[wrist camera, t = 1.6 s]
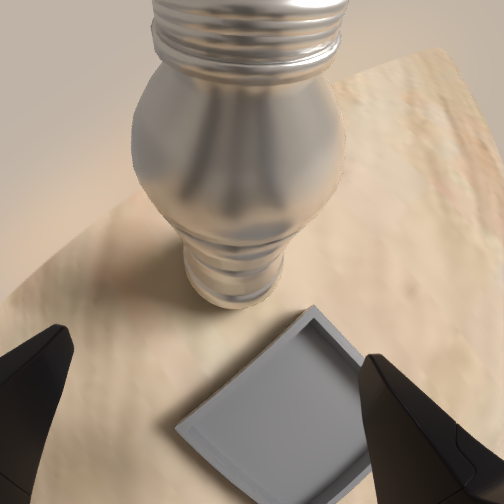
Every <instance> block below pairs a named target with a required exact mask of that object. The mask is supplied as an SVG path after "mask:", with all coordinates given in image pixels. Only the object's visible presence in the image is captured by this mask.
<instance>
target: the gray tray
mask: <svg viewBox="0 0 504 504" xmlns="http://www.w3.org/2000/svg"><path fill="white" fill-rule="evenodd" d="M364 360H365V358H364V357H363V356H362V355H361V354H360V353H359V352H358V351H357V350H356V349H355V348H354V347H353V345H352V344H351V343H350V342H349V341H348V340H347V339H346V338H345V337H344V336H343V335H342V334H341V333H340V332H339V331H338V330H337V328H336V327H335V326H334V325H333V324H332V323H331V322H330V321H329V320H328V319H327V318H326V317H325V316H324V315H323V314H322V313H321V312H320V310H319V309H318V308H317V307H316V306H315V305H312V306H311V307H309V308H307V309H305V310H304V311H303V312H302V313H301V314H300V315H299V316H298V317H297V318H296V319H295V320H294V321H293V322H292V323H291V324H290V325H289V326H288V327H287V328H286V329H285V330H284V331H283V332H282V333H280V334H279V335H278V336H277V337H276V338H275V339H274V340H273V341H272V342H271V343H270V344H269V345H268V346H267V347H265V348H264V349H263V350H262V351H261V352H260V353H259V354H258V355H257V356H256V357H254V358H253V359H252V360H251V361H250V362H249V363H248V364H247V365H246V366H244V367H243V368H242V369H241V370H240V371H239V372H238V373H236V374H235V375H234V376H233V377H232V378H231V379H230V380H228V381H227V382H226V383H225V384H224V385H223V386H221V387H220V388H219V389H218V390H217V391H215V392H214V393H213V394H212V395H211V396H210V397H208V398H207V399H206V400H205V401H203V402H202V403H201V404H200V405H199V406H197V407H196V408H195V409H194V410H192V411H191V412H190V413H189V414H187V415H186V416H185V417H184V418H182V419H181V420H180V421H179V422H178V424H177V425H176V426H175V428H174V429H175V430H176V431H177V432H178V433H179V434H180V435H181V436H182V437H183V438H184V439H185V440H186V441H187V442H188V443H189V444H190V445H191V446H192V447H193V448H194V449H195V450H196V451H197V452H198V453H199V454H200V455H201V456H202V457H203V458H204V459H205V460H207V461H208V462H209V463H210V464H211V465H212V466H213V467H214V468H215V469H217V470H218V471H219V472H220V473H221V474H222V475H223V476H225V477H226V478H227V479H228V480H229V481H231V482H232V483H233V484H234V485H235V486H237V487H238V488H239V489H240V490H242V491H243V492H244V493H245V494H247V495H248V496H249V497H250V498H252V499H253V500H254V501H256V502H257V503H258V504H336V503H337V502H338V501H340V500H341V499H342V498H343V497H344V496H345V495H346V494H348V493H349V492H350V491H351V490H352V489H353V488H354V487H355V486H356V485H358V484H359V483H360V482H361V481H362V480H363V479H364V478H365V477H366V476H367V475H368V474H369V473H370V472H371V471H372V467H371V462H370V457H369V451H368V446H367V441H366V437H365V432H364V427H363V422H362V413H361V403H360V394H359V385H358V373H359V370H360V368H361V366H362V364H363V362H364Z"/></svg>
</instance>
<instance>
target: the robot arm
mask: <svg viewBox="0 0 504 504" xmlns="http://www.w3.org/2000/svg"><path fill="white" fill-rule="evenodd" d="M73 353H74V345H73V342H72V339H71V336H70V333H69V330H68V328H67V327H66V326H64V325H59V324H54V325H52V326H50V327H49V328H47V329H45V330H44V331H42V332H40V333H39V334H37V335H36V336H34V337H32V338H31V339H29V340H27V341H26V342H24V343H22V344H21V345H19V346H18V347H16V348H14V349H13V350H11V351H10V352H8V353H6V354H5V355H3V356H2V357H0V504H30V500H31V494H32V490H33V486H34V482H35V478H36V474H37V470H38V466H39V463H40V459H41V455H42V452H43V449H44V445H45V442H46V439H47V436H48V432H49V429H50V426H51V423H52V420H53V417H54V415H55V412H56V409H57V406H58V403H59V401H60V398H61V395H62V392H63V389H64V385H65V381H66V378H67V374H68V370H69V367H70V363H71V360H72V356H73ZM358 385H359V394H360V403H361V413H362V422H363V427H364V432H365V437H366V441H367V446H368V451H369V457H370V462H371V467H372V473H373V478H374V484H375V490H376V496H377V502H378V504H504V460H502V459H501V458H500V457H498V456H497V455H496V454H494V453H493V452H491V451H490V450H489V449H487V448H486V447H485V446H484V445H482V444H481V443H480V442H478V441H477V440H476V439H475V438H474V437H472V436H471V435H470V434H469V433H468V432H467V431H466V430H464V429H463V428H462V427H461V426H460V425H459V424H456V421H455V420H453V419H452V418H451V417H450V416H449V415H448V414H447V413H446V412H445V411H444V410H442V409H441V408H440V407H439V406H438V405H437V404H436V403H435V402H434V401H433V400H431V399H430V398H429V397H428V396H427V395H426V394H425V393H424V392H423V391H422V390H420V389H419V388H418V387H417V386H416V385H415V384H414V383H413V382H412V381H410V380H409V379H408V378H407V377H406V376H405V375H404V374H403V373H402V372H400V371H399V370H398V369H397V368H396V367H395V366H394V365H393V364H392V363H390V362H389V361H388V360H387V359H386V358H385V357H384V356H383V355H381V354H368V355H367V356H366V358H365V360H364V362H363V364H362V366H361V368H360V370H359V373H358Z"/></svg>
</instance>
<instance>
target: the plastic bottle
mask: <svg viewBox="0 0 504 504" xmlns="http://www.w3.org/2000/svg"><path fill="white" fill-rule="evenodd" d="M348 2H349V0H152V4H153V11H154V19H153V21H152V25H151V31H152V37H153V43H154V49H155V52H156V53H157V55H158V56H159V58H160V59H161V60H162V61H163V62H162V63H161V65H160V66H159V67H158V68H157V70H156V71H155V73H154V74H153V75H152V77H151V78H150V80H149V82H148V84H147V86H146V88H145V90H144V92H143V94H142V96H141V98H140V100H139V103H138V105H137V107H136V110H135V112H134V116H133V123H132V133H131V134H132V135H131V153H132V161H133V167H134V170H135V173H136V175H137V177H138V180H139V183H140V185H141V186H142V188H143V189H144V191H145V192H146V194H147V196H148V197H149V199H150V200H151V202H152V203H153V204H154V206H155V207H156V208H157V210H158V211H159V213H160V214H162V215H163V217H164V218H165V219H166V220H167V221H168V222H169V224H170V225H171V226H172V227H173V228H174V229H175V230H176V231H177V233H178V234H179V236H180V238H181V240H182V241H183V244H184V249H183V254H184V267H185V271H186V275H187V277H188V279H189V281H190V283H191V285H192V287H193V288H194V289H195V290H196V292H197V293H198V294H199V295H200V296H201V297H203V298H204V299H205V300H206V301H208V302H210V303H212V304H213V305H216V306H219V307H222V308H226V309H245V308H248V307H251V306H254V305H256V304H258V303H260V302H262V301H263V300H265V299H266V298H267V297H268V296H269V295H270V294H271V293H272V292H273V290H274V289H275V288H276V286H277V284H278V282H279V280H280V278H281V274H282V270H283V264H284V249H285V247H286V246H287V244H288V243H289V241H290V240H291V239H292V238H293V237H294V236H295V235H296V234H297V233H298V232H299V231H301V230H302V229H303V228H304V227H305V226H306V225H307V224H308V223H309V222H310V221H311V220H312V219H314V218H315V217H316V215H317V214H318V213H319V211H320V210H321V209H322V208H323V206H324V205H325V204H326V203H327V201H328V200H329V199H330V197H331V196H332V195H333V193H334V192H335V190H336V189H337V186H338V184H339V181H340V179H341V176H342V174H343V167H344V159H345V146H346V132H345V125H344V119H343V116H342V114H341V111H340V108H339V105H338V102H337V99H336V96H335V94H334V92H333V89H332V87H331V85H330V83H329V81H328V79H327V78H326V76H325V74H324V71H325V70H326V69H328V68H329V67H330V66H331V64H332V62H333V61H334V59H335V57H336V54H337V51H338V48H339V45H340V41H341V33H340V30H339V29H340V26H341V23H342V20H343V17H344V14H345V11H346V8H347V5H348Z"/></svg>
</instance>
